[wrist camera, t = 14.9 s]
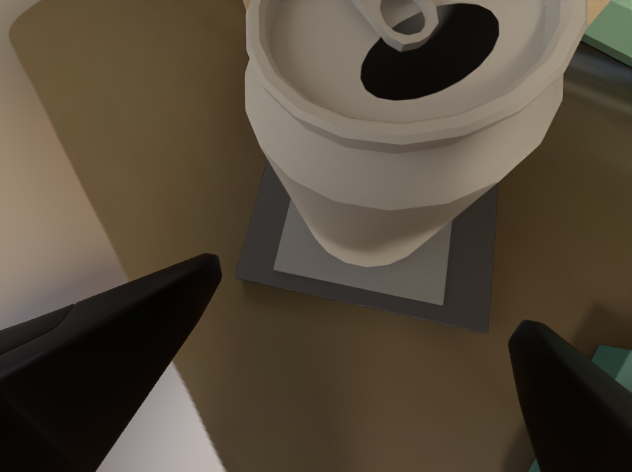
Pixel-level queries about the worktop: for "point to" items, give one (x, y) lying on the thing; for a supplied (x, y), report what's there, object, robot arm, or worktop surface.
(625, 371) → the control block
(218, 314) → the worktop surface
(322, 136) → the can
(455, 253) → the coffee maker
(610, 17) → the container
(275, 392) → the worktop surface
